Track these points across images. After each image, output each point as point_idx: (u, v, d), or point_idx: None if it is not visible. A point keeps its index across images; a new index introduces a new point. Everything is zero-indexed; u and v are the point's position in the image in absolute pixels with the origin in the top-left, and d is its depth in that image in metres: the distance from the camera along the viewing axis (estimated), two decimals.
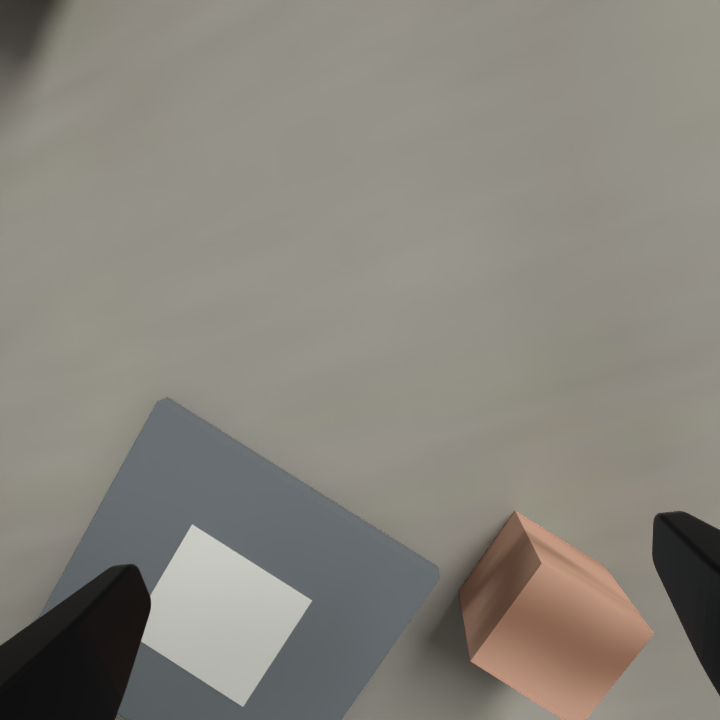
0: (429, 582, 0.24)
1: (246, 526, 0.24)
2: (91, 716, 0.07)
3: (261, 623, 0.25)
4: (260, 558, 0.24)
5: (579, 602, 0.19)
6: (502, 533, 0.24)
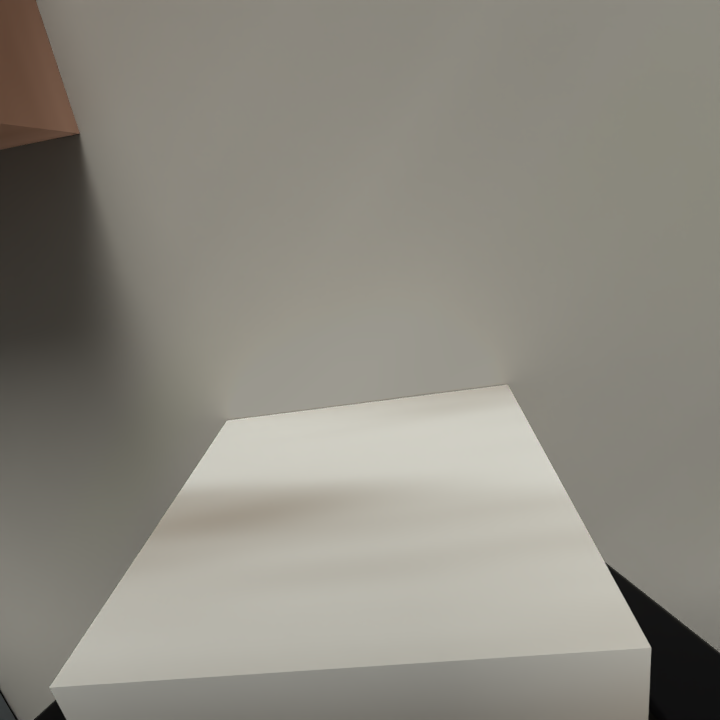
0: None
1: None
2: None
3: None
4: None
5: None
6: None
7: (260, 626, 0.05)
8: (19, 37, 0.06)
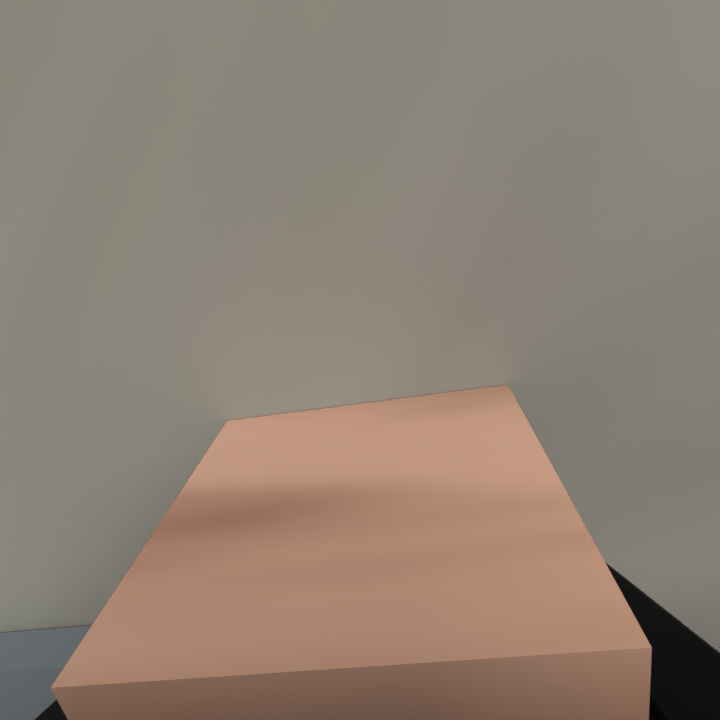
0: None
1: None
2: None
3: None
4: None
5: (286, 714, 0.04)
6: None
7: None
8: None
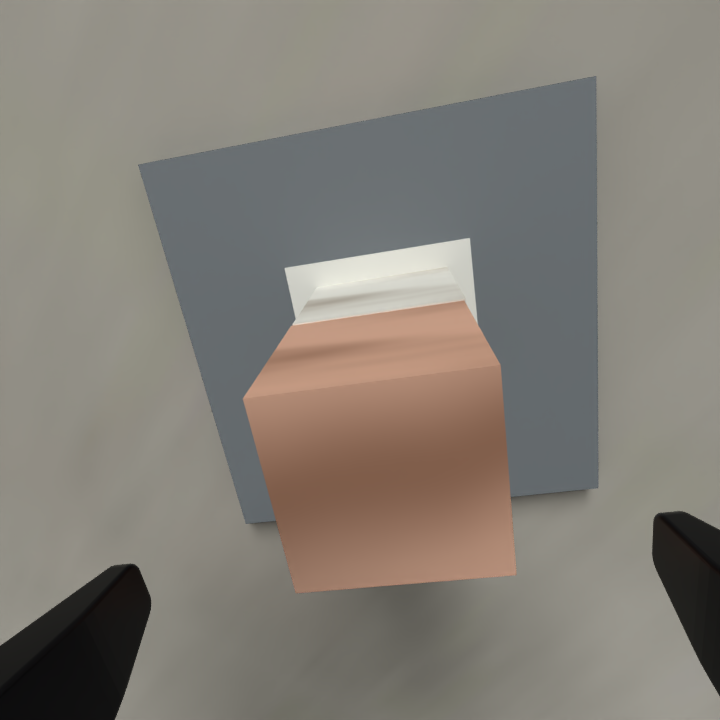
0: (587, 92, 0.16)
1: (338, 217, 0.18)
2: (91, 716, 0.07)
3: None
4: (380, 241, 0.18)
5: (348, 408, 0.10)
6: None
7: (354, 310, 0.15)
8: None
